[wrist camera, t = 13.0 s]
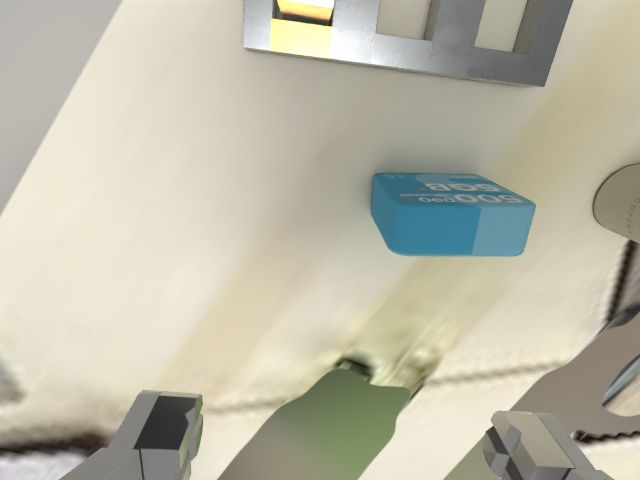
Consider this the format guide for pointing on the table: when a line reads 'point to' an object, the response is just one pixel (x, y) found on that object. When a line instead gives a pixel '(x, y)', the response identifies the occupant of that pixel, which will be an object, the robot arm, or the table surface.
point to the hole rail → (415, 40)
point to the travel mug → (620, 203)
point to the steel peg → (307, 11)
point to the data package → (449, 215)
